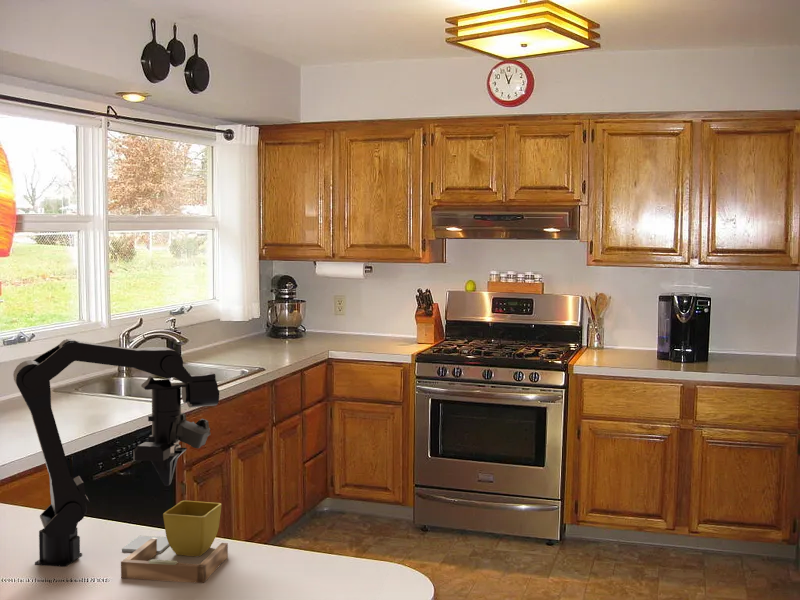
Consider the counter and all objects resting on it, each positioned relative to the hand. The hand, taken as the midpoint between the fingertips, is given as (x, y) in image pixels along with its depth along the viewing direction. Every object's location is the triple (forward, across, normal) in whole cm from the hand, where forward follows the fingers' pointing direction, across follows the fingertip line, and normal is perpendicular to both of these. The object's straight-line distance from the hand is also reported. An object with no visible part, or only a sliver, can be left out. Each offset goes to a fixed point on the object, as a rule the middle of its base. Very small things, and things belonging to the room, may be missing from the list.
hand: (167, 485), depth 173 cm
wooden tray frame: (+12, -14, -7) cm, 20 cm away
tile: (+12, -3, +3) cm, 12 cm away
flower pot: (+12, -5, -7) cm, 15 cm away
